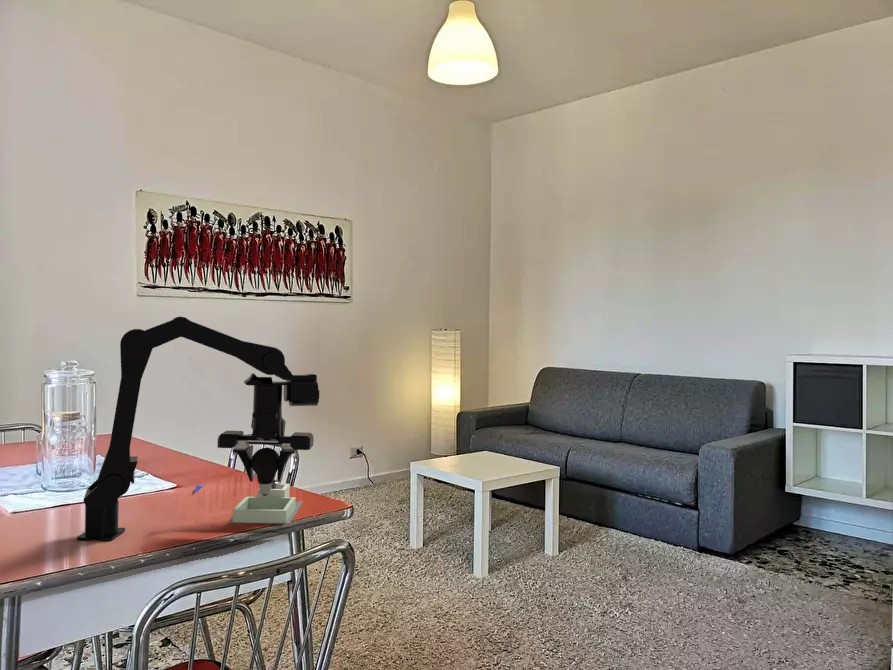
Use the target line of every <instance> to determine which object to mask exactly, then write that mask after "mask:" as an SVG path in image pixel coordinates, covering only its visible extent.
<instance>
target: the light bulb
mask: <svg viewBox="0 0 893 670" xmlns="http://www.w3.org/2000/svg"><path fill="white" fill-rule="evenodd" d="M279 454H280V453H278V452H277V450H275V449H274V448H271V447H262V448H260V449H257V450H256V451H255V452H254V453H253V457H252V460H251V465H252V468H253V470H254V473H255V475H256V476H257V477H256V478H257V482H258V485H259V486H258V489H259V492H260V493H261V494H262V495H263V496H267V495H268V494H269V493H270V492H271V484H272V481H273V479H274V476H275V475H276V473H277V472H278V463H279Z"/></svg>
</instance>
